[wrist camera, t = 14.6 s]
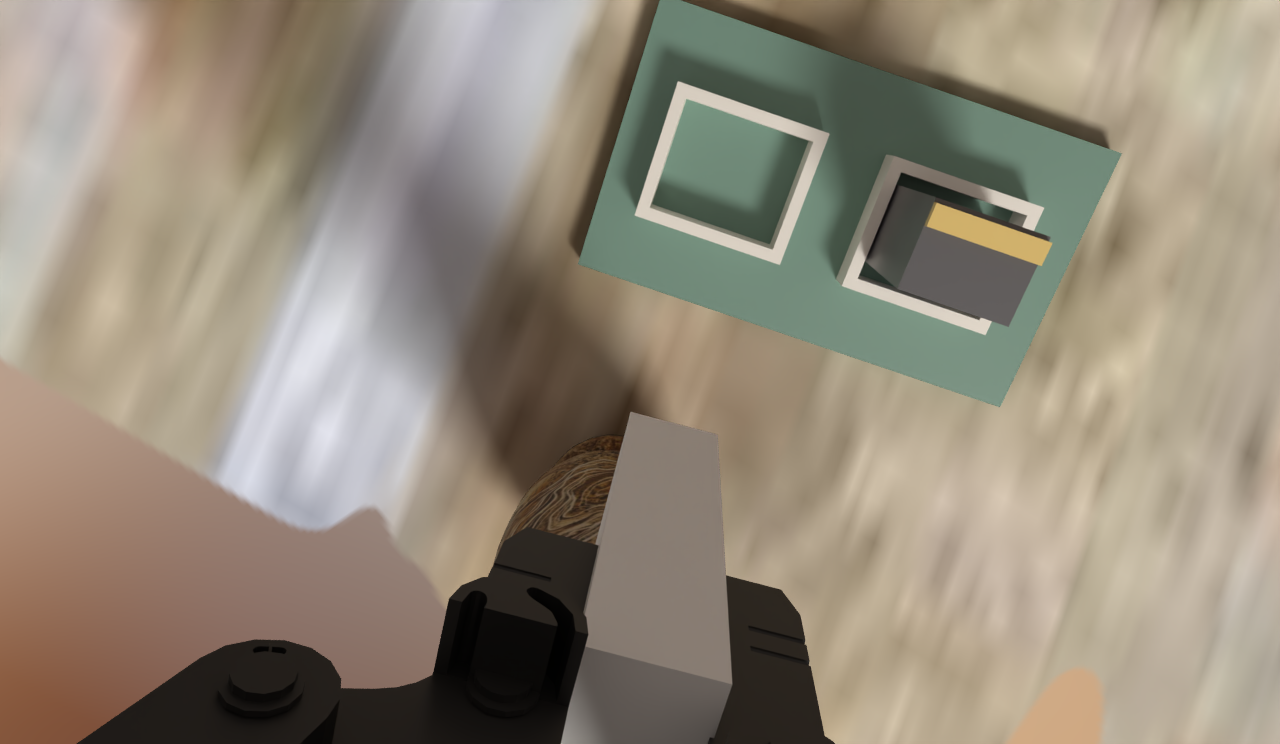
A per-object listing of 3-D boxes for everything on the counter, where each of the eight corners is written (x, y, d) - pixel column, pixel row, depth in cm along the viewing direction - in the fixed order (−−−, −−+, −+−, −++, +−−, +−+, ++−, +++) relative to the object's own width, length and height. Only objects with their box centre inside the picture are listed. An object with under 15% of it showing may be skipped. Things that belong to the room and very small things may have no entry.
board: (581, 260, 47) (572, 270, 44) (662, -3, 43) (659, -13, 40) (992, 400, 48) (1012, 419, 45) (1110, 152, 44) (1141, 154, 41)
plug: (860, 256, 45) (899, 290, 36) (890, 182, 44) (938, 198, 35) (950, 288, 45) (1011, 329, 36) (982, 214, 44) (1055, 238, 35)
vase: (599, 610, 53) (477, 1181, 25) (489, 480, 51) (218, 933, 23) (737, 521, 51) (781, 1035, 22) (627, 381, 49) (521, 746, 20)
